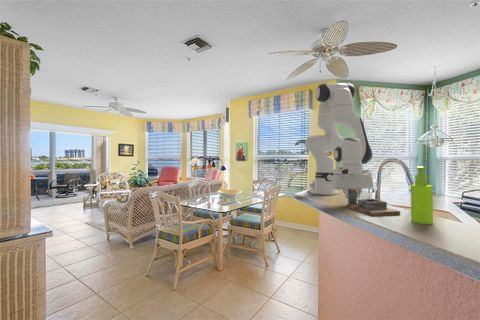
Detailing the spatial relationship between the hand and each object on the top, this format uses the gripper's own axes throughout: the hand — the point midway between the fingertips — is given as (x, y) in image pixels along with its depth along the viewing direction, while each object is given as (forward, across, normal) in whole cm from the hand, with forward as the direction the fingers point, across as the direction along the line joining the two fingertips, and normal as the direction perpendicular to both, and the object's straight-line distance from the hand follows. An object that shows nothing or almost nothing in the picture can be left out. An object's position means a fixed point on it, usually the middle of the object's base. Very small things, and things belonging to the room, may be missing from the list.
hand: (352, 197), depth 106 cm
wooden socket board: (+3, 0, +13) cm, 14 cm away
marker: (+3, 0, 0) cm, 3 cm away
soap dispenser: (+3, -5, +31) cm, 32 cm away
